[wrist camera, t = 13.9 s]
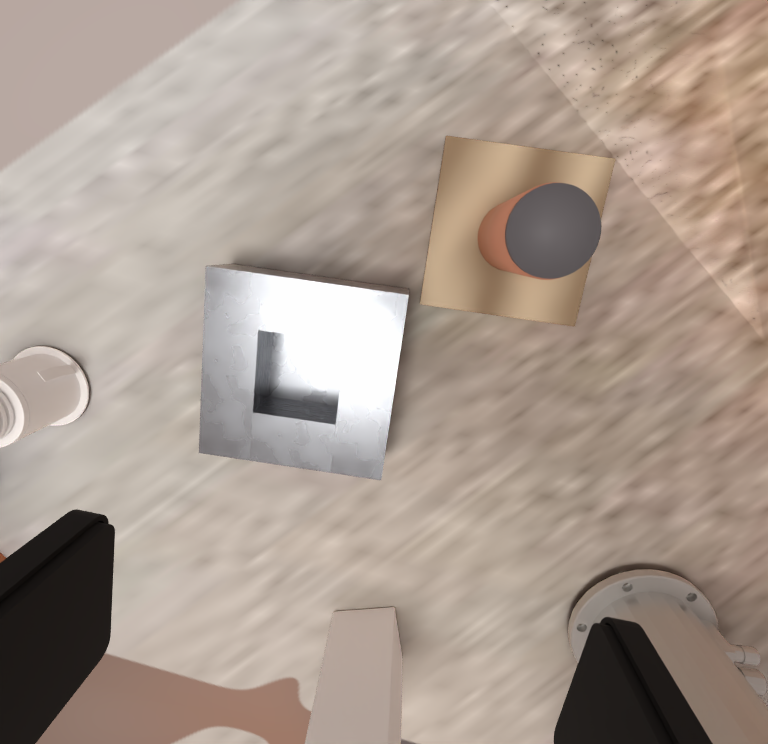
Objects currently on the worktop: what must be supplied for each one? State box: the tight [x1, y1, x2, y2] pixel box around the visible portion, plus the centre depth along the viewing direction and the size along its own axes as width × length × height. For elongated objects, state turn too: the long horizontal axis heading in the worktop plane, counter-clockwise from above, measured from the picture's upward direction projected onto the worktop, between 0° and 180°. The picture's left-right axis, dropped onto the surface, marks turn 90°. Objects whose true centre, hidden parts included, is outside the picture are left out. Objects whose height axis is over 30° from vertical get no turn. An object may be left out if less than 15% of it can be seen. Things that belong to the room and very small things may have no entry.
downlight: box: [0, 346, 89, 447], centre depth 36 cm, size 8×7×10 cm
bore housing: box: [199, 264, 409, 480], centre depth 36 cm, size 14×14×5 cm
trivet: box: [420, 136, 615, 326], centre depth 35 cm, size 12×12×1 cm
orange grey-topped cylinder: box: [478, 182, 601, 280], centre depth 30 cm, size 5×5×11 cm
